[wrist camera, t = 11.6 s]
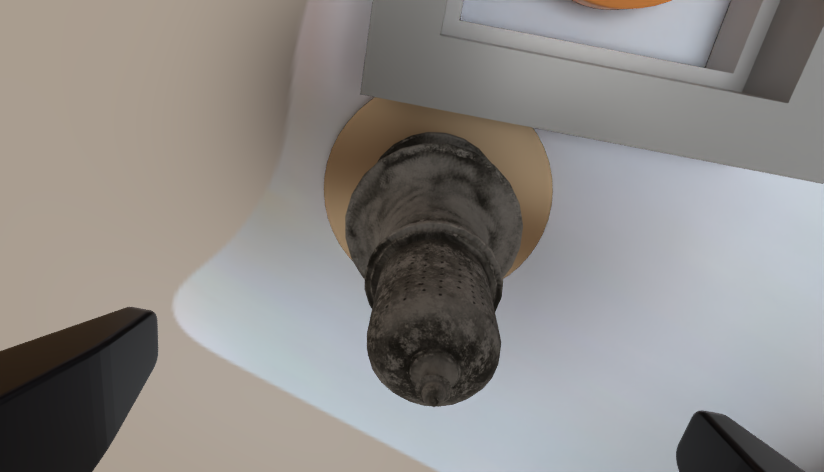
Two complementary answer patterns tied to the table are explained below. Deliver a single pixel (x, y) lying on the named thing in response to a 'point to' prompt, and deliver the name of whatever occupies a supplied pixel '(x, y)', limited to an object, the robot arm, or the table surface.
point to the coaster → (395, 121)
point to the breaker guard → (620, 83)
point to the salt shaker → (433, 264)
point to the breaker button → (620, 3)
